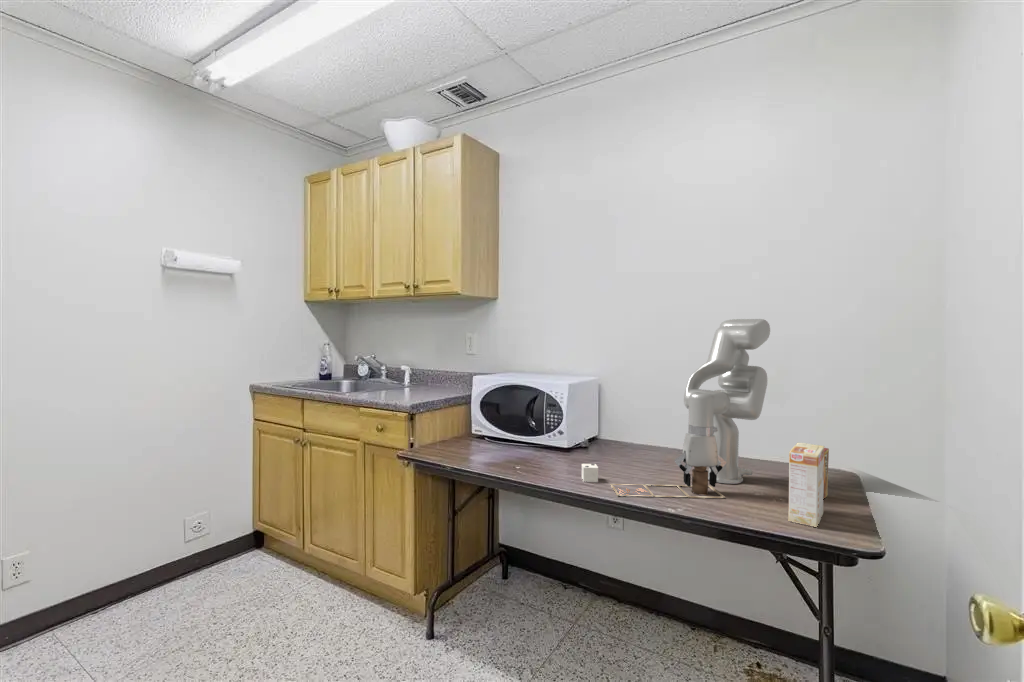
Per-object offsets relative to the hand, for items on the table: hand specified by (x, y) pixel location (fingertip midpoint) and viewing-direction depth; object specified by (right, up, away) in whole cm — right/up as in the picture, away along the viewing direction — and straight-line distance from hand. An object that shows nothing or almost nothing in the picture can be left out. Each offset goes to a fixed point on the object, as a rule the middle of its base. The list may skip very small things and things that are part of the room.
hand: (699, 484), depth 152 cm
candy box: (+36, -3, -3) cm, 36 cm away
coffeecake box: (+22, -3, -20) cm, 30 cm away
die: (-34, -2, +12) cm, 36 cm away
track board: (-11, -2, 0) cm, 11 cm away
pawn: (0, -2, 0) cm, 2 cm away
